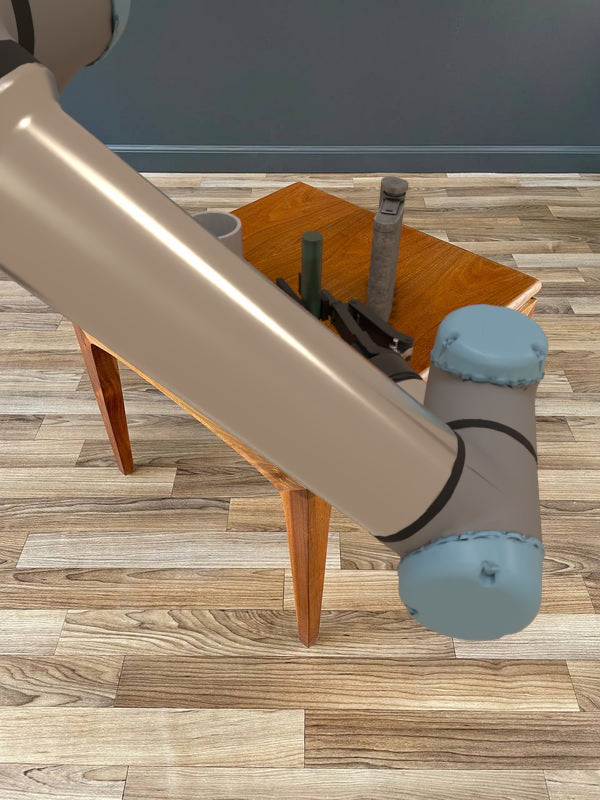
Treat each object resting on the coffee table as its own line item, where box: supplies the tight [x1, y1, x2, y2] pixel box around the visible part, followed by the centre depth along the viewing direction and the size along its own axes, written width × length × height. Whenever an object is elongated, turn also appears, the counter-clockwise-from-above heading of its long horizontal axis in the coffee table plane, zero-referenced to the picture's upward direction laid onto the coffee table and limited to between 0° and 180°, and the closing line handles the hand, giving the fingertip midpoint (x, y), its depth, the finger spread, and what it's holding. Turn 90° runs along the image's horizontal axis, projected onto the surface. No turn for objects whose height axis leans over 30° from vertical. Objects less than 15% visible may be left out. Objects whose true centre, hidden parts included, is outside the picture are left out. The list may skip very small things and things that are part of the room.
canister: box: [190, 210, 245, 259], centre depth 94 cm, size 9×9×9 cm
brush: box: [300, 230, 324, 321], centre depth 72 cm, size 5×5×20 cm
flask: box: [365, 175, 409, 323], centre depth 86 cm, size 4×14×18 cm, turn 170°
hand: (290, 285), depth 75 cm, fingers closed on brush, 2 cm apart
